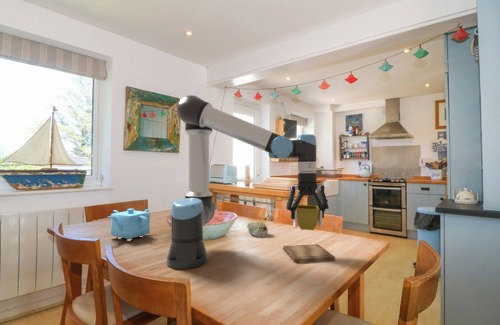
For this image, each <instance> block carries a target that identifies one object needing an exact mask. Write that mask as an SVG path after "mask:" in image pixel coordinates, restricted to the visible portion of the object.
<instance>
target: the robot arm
mask: <svg viewBox="0 0 500 325" xmlns="http://www.w3.org/2000/svg"><path fill="white" fill-rule="evenodd" d="M213 106H214V105H212V103H210V102H209V101H208V102H207V101H205V100H204V99H202V98H201V97H199V96H198V95H197V96H196V95H191V94H190V95H186V96H184V97H182V98H181V99H180V100H179V102H178V103H177V107H176V108H177V109H176V111H177V115H178V117H179V119H180V120H181V121H182V122H183V123H185V124H184V132H185V133H186V134H187V135H188V192H186V193H185V195H184V196H185V197H184V198H182V199H178V200H176V201H174V202H173V203H172V205H171V211H170V214H171V243H170V246H169V250H168V253H167V256H166V266H168V267H169V268H172V269H176V270H186V269H194V268H199V267H201V266H203V265H205V264H206V263H207V262H208V252H207V248H206V245H205V243H204V238H203V237H204V226H205V225H207V224H209V223H210V221H211V220H213V218H214V216H215V213H216V207H215V203H214V202H213V193H212V192H211V191H210V172H209V171H210V136H211V134H213V130H214V131H215V132H216V131H217V132H219V133H221V134H223V135H226V136H228V137H231V138H233V139H235V140H238V141H241V142H243V143H244V144H248V145H250V146H253V147H255V148H257V149H260V150H262V151H264V152H266V153H268V157H269V159H297V172H298V173H297V185H290V187H289V189H290V192H289V195H288V200H287V204H286V210H288V211H290V219H291V220H292V225H293V226H292V227H293V228H295V229H298V220H297V206H298V205H300V202H301V200H302V199H303V197H304V196H311V197H312V198H313V200H314V202H315V204H316V206H318V208H319V214H318V222H317V227H319V228H322V227H323V219H325V212H326V210H328V209H329V204H328V201H327V196H326V194H325V193H326V192H325V185H322V184H319V185H318V184H317V180H318V177H317V175H318V174H317V173H316V172H317V137H316V135H314V134H309V133H308V134H298V135H297V139H290V138H289V137H287V136H285V135H281V134H278V133H275V132H273V131H271V130H268V129H265V128H263V127H261V126H258V125H256V124H254V123H251V122H249V121H246V120H244V119H241V118H239V117H237V116H234V115H232V114H229V113H228V112H225V111H222V110H220V109H217V108H215V107H213ZM317 190H318V193H319V196H320V198H319V196H318V194H317ZM297 191H298V193H297V196H296V198H295V195H296V192H297ZM294 198H295V200H294Z"/></svg>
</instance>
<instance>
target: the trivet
mask: <svg viewBox="0 0 500 325" xmlns="http://www.w3.org/2000/svg"><path fill="white" fill-rule="evenodd" d="M282 250H283V251H284V252H285V253H286V255H287V256H288V257H289V258H290V259H291V260H292V262H293V263H294V264H302V263H317V262H334V261H336V256H334V255H333V254H332V253H331V252H329V251H328V250H327V249H326V248H324V247H323V246H321V245H320V244H318V243H317V244H299V245H284V246H282Z"/></svg>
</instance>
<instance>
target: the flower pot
mask: <svg viewBox="0 0 500 325" xmlns="http://www.w3.org/2000/svg"><path fill="white" fill-rule="evenodd" d="M319 210H320V209H319V207H318V205H311V204H309V205H308V204H307V205H305V204H298V206H297V208H296V212H297V225H298V227H299V228H300V230H303V231H304V230H305V231H314V230H315V229H316V227H317V226H318V214H319Z"/></svg>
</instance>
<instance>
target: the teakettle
mask: <svg viewBox="0 0 500 325" xmlns="http://www.w3.org/2000/svg"><path fill="white" fill-rule="evenodd" d="M150 210H151V208H147V209H144V211H141V210H135V208H127V210H125V211H120V212H119V211H118V210H115V209H114V210H112V211H113V213H111V214H110V215H109V216H107V218H109V219H110V220H111V221H110V226H111V227H110V235H111V236H113V237H116V238H118V237H122V238H123V239H134V238H138V236H144V237H145V235H147V234H148V235H149V234H150V233H151V232H150V230H151V221H150V220H151V216H150V214H151V213H150V212H149V211H150Z"/></svg>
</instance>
